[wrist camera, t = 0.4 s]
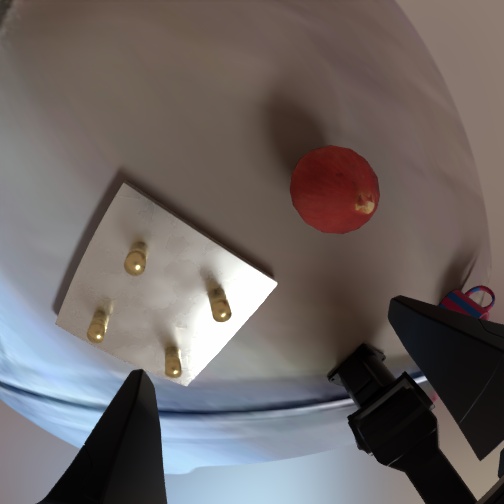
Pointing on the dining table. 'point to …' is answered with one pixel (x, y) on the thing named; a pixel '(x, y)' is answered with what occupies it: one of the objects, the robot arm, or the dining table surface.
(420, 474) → the robot arm
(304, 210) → the red rounded piece
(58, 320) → the plate
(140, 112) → the dining table surface
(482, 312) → the mug
